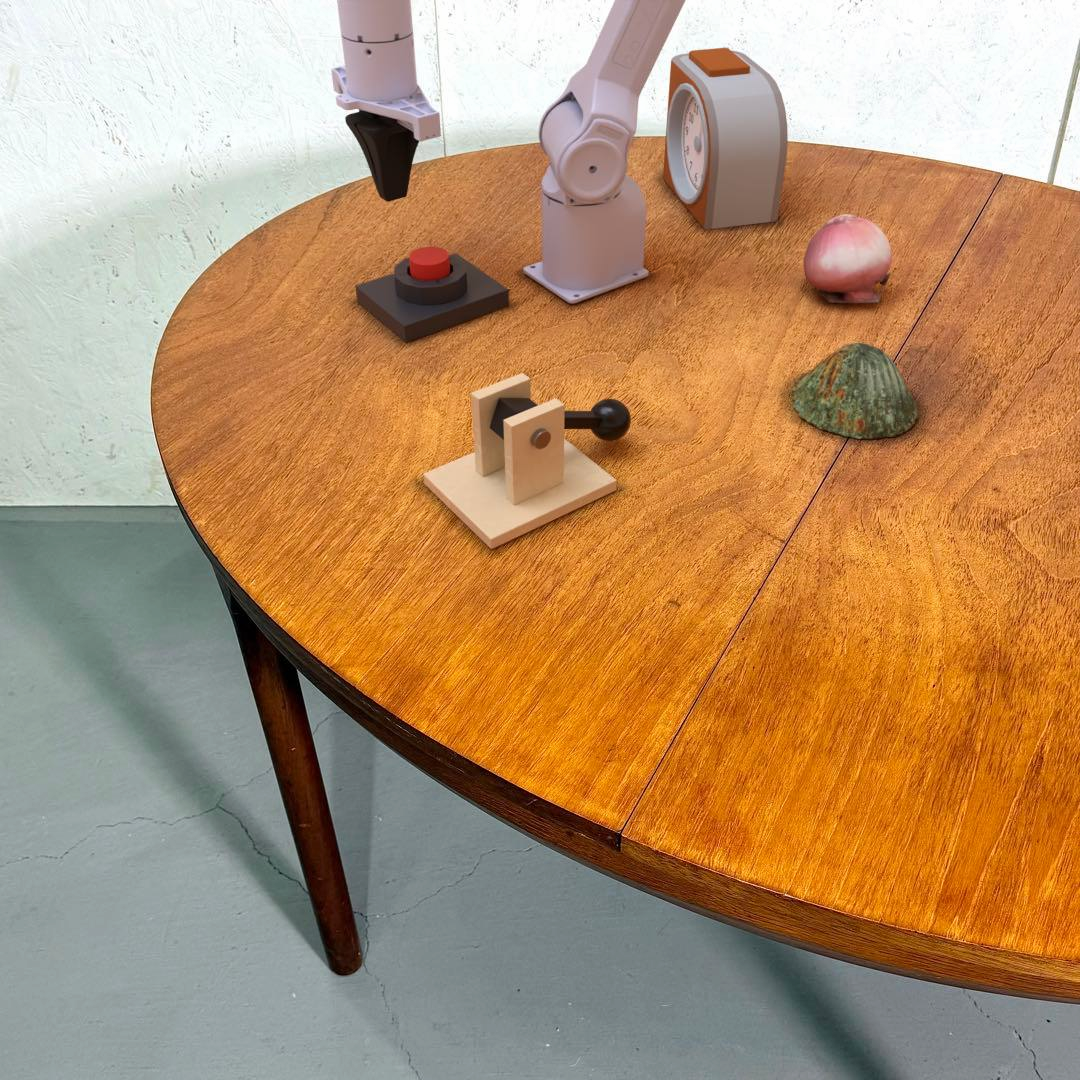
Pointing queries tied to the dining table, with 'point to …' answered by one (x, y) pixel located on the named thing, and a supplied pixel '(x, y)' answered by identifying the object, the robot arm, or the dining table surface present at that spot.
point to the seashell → (856, 394)
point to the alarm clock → (725, 138)
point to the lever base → (517, 469)
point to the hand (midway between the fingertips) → (393, 196)
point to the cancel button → (429, 263)
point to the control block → (431, 298)
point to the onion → (848, 260)
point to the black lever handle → (572, 417)
